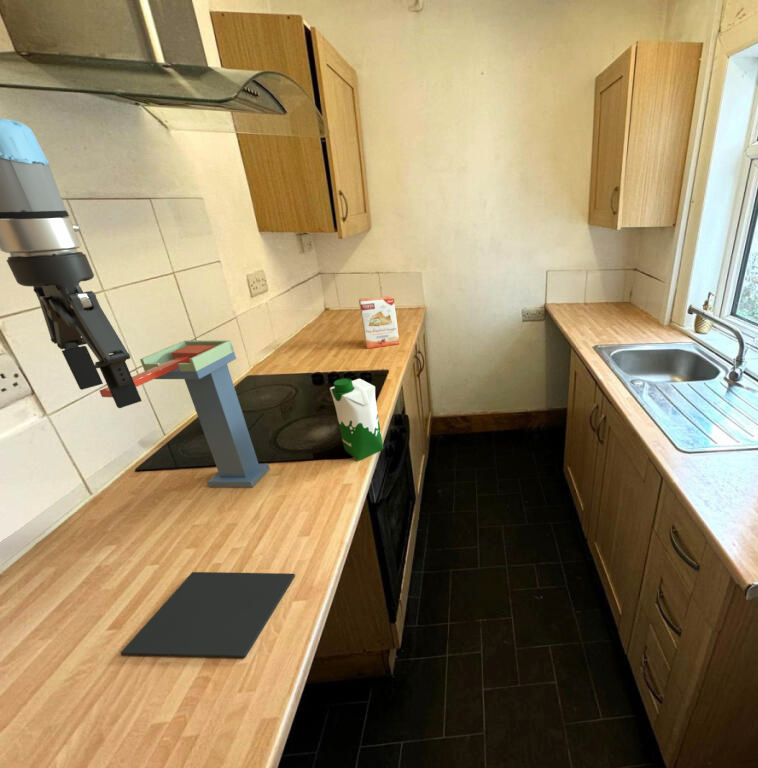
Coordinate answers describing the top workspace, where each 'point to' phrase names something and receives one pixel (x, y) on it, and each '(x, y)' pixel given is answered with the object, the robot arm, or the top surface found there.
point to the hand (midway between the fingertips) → (109, 395)
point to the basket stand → (216, 411)
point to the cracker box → (379, 321)
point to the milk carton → (357, 417)
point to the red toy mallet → (165, 365)
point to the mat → (212, 616)
